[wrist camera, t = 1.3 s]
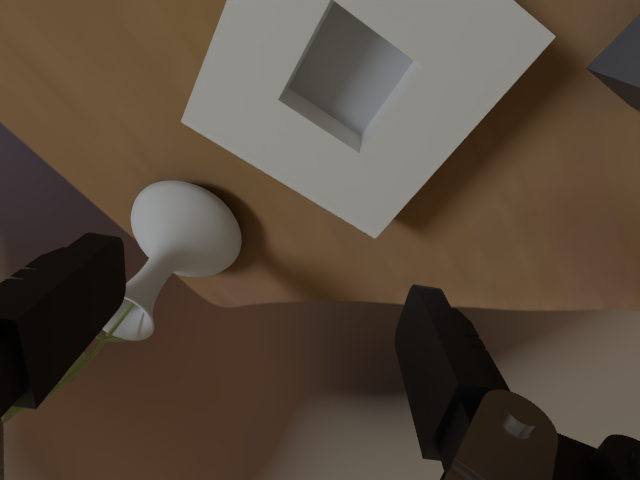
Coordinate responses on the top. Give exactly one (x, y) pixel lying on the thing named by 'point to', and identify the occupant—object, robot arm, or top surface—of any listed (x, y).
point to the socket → (358, 91)
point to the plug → (622, 65)
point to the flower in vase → (166, 256)
